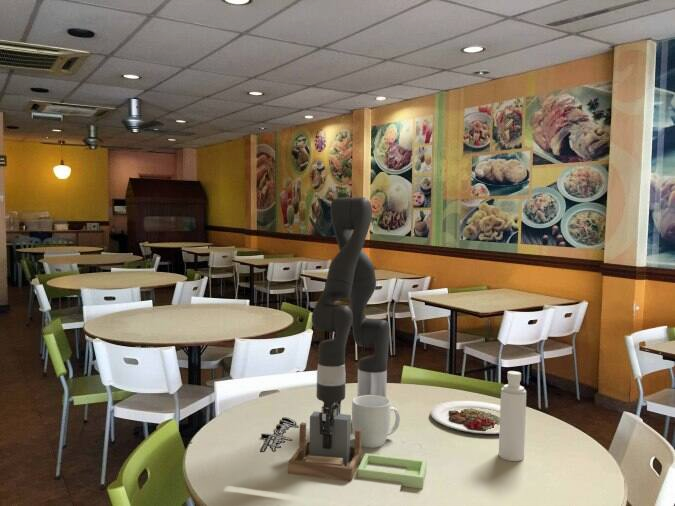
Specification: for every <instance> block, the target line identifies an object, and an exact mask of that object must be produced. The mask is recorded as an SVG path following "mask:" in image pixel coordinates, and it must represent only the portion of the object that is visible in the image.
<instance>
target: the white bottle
mask: <svg viewBox="0 0 675 506" xmlns="http://www.w3.org/2000/svg"><path fill="white" fill-rule="evenodd" d="M506 375H507V378H506V379H507V384H504V385H503V386H502V387H501V388H500V403H499V405H500V431H499V435H498V455H499V458H501V459H502V460H504V461H505V460H506V461H510V462H520V461H523V460H524V459H525V445H526V444H525V439H526V415H527V390H526V389H525V386H522V385H521V384H520V383H521V381H522V373H521V372H520V371H515V370H509V371H507V374H506Z"/></svg>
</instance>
